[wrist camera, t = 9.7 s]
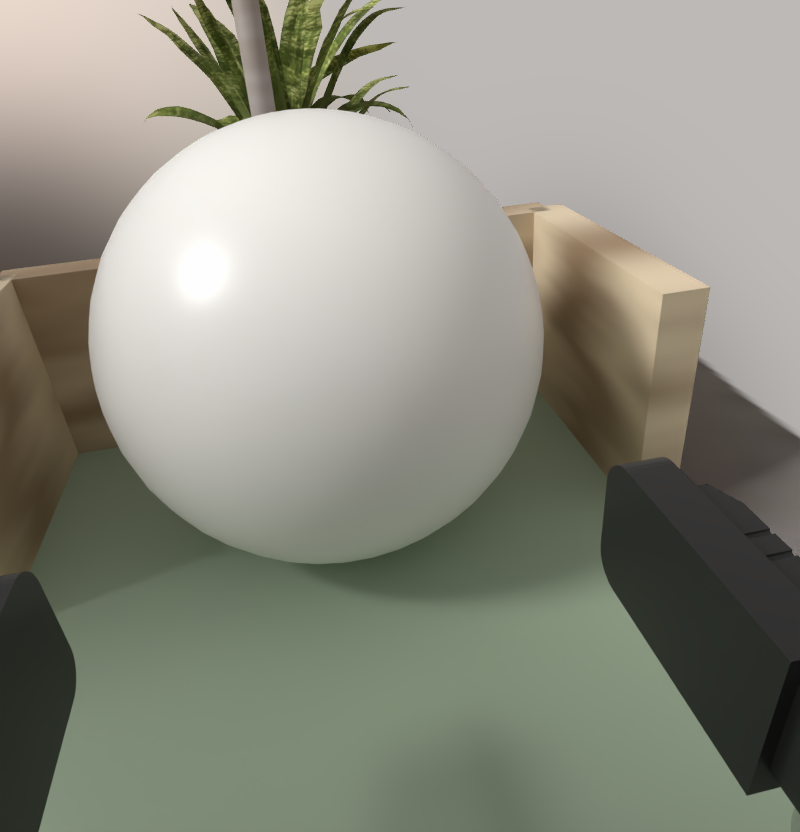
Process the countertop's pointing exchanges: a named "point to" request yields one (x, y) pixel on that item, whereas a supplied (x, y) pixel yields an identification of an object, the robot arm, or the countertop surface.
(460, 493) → the ball
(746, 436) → the countertop surface
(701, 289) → the wooden u-shaped frame
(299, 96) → the house plant
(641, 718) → the green mat
